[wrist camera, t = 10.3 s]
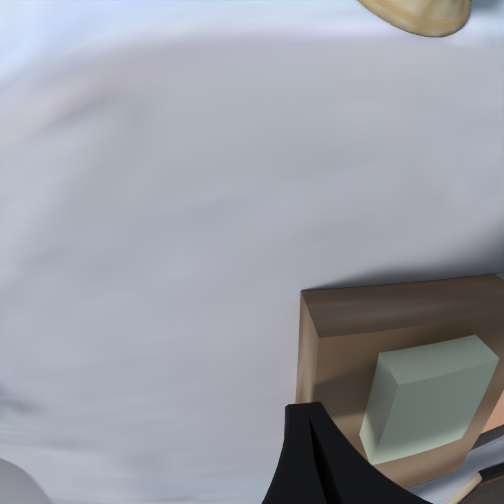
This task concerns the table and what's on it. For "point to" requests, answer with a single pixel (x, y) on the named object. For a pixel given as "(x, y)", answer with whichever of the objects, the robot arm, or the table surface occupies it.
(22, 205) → the table surface
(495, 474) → the hardcover book
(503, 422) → the terracotta tile
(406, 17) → the hand bell
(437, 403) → the sage green tile
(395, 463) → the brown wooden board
